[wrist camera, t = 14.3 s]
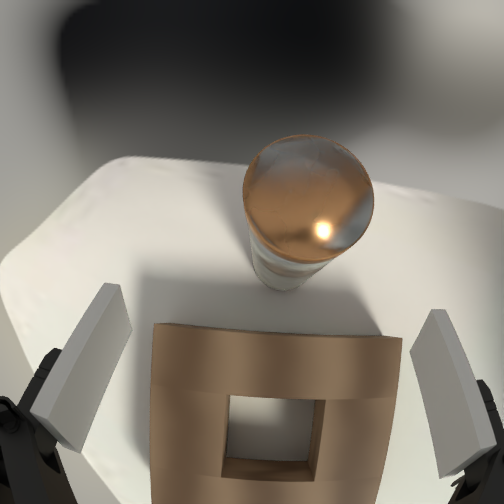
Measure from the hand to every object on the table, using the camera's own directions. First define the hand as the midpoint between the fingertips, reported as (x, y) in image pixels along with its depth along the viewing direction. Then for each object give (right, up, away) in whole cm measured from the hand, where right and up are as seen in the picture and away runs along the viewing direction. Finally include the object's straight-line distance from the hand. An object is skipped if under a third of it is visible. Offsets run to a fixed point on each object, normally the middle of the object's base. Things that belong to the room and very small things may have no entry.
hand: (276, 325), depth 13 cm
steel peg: (+2, +2, +14) cm, 14 cm away
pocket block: (+1, -11, +11) cm, 16 cm away
